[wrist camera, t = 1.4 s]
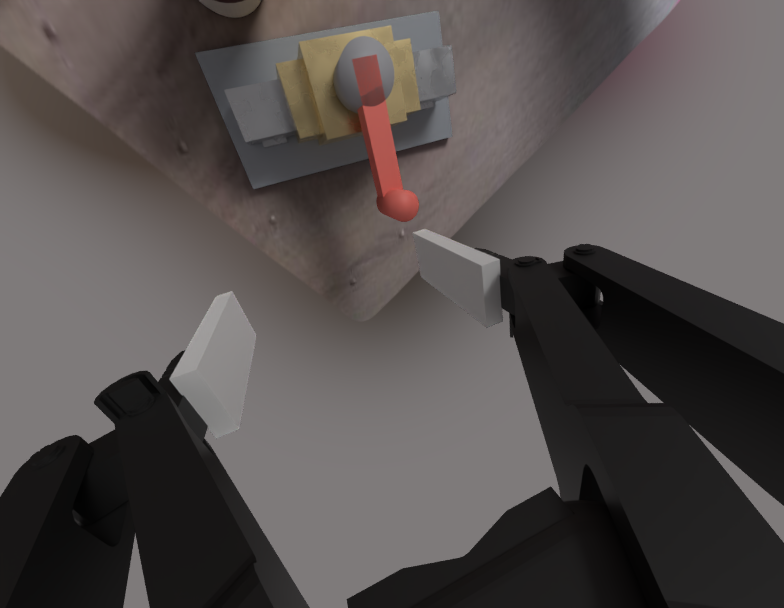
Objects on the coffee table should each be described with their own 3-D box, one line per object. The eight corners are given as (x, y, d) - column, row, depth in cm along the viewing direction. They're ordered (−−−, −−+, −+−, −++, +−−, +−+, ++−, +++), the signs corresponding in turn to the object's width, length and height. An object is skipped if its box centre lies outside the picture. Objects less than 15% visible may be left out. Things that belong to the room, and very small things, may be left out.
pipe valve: (429, 42, 32) (463, 12, 26) (439, 116, 35) (470, 104, 29) (224, 82, 28) (207, 57, 22) (256, 161, 31) (249, 158, 25)
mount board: (434, 14, 32) (438, 10, 31) (448, 137, 38) (452, 136, 37) (197, 56, 27) (194, 52, 26) (254, 188, 33) (253, 189, 32)
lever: (326, 56, 24) (336, 26, 19) (376, 47, 25) (398, 15, 20) (368, 219, 30) (384, 228, 25) (407, 207, 31) (430, 214, 26)
